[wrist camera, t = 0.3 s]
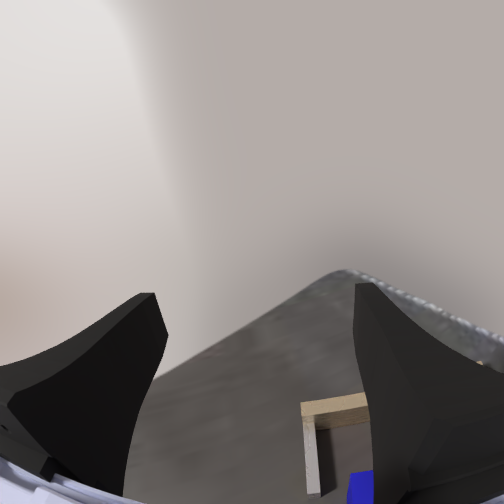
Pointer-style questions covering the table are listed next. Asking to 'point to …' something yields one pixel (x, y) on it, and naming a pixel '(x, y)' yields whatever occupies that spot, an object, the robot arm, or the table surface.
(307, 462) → the frame
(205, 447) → the table surface
